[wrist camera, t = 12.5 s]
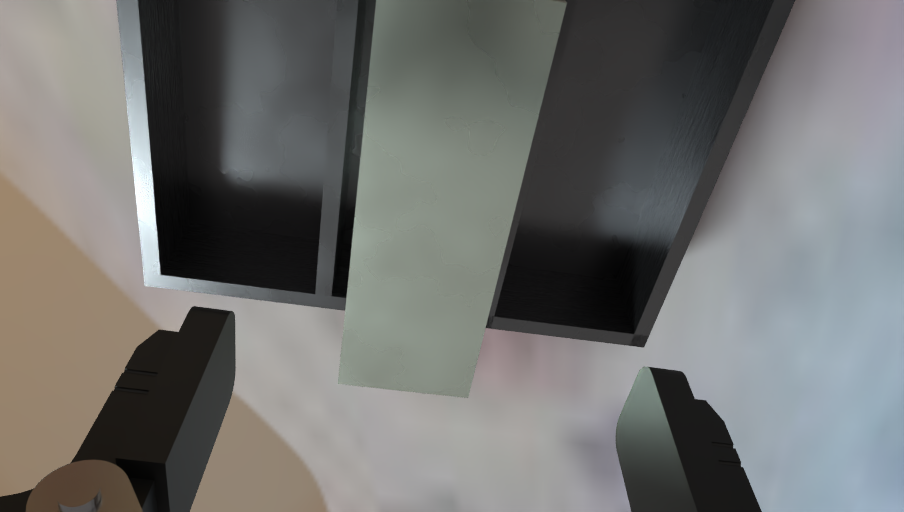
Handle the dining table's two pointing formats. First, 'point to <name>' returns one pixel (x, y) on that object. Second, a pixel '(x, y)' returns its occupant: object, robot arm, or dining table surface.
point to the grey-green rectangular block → (440, 183)
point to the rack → (340, 140)
